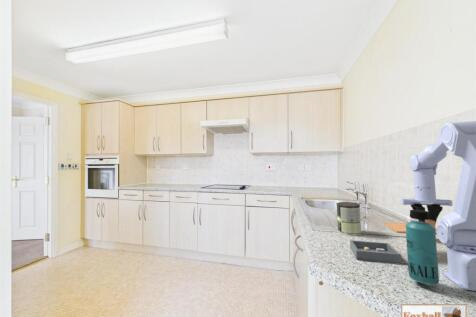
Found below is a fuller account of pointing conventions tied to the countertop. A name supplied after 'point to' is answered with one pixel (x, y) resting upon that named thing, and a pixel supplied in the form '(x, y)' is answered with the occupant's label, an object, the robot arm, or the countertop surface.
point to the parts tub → (375, 251)
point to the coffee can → (348, 218)
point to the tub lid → (402, 226)
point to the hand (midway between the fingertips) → (427, 225)
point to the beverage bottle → (422, 249)
